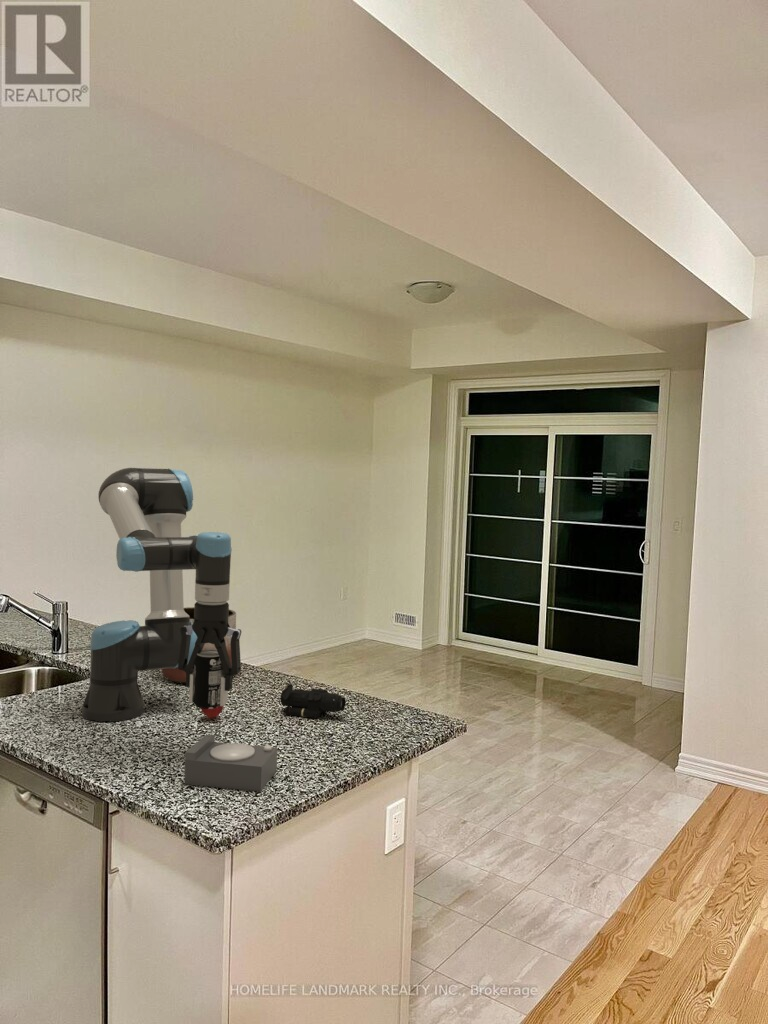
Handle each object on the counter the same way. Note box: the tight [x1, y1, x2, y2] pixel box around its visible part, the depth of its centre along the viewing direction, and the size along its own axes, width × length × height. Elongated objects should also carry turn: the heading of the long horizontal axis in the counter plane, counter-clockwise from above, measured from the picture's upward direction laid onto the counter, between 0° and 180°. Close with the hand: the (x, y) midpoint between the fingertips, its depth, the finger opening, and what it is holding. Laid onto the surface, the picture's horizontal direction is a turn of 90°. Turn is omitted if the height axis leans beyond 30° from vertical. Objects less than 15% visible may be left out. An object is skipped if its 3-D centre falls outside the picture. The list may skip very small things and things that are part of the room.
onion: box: [200, 705, 225, 720], centre depth 193 cm, size 6×6×8 cm
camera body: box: [184, 734, 278, 792], centre depth 156 cm, size 16×11×6 cm
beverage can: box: [192, 650, 224, 709], centre depth 169 cm, size 7×7×12 cm
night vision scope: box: [280, 683, 347, 719], centre depth 199 cm, size 8×18×10 cm
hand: (208, 702), depth 170 cm, fingers closed on beverage can, 7 cm apart
